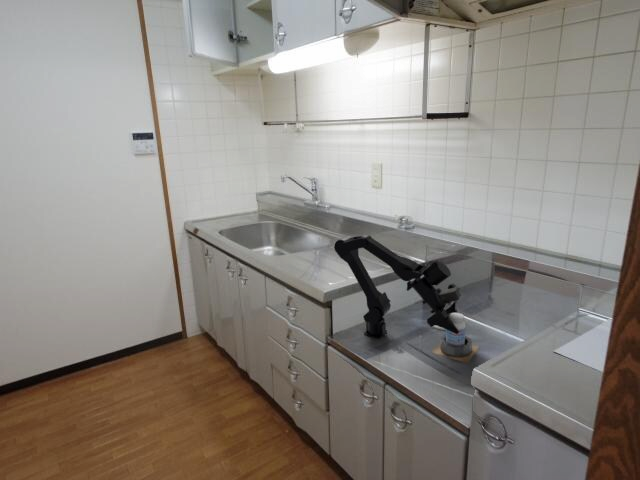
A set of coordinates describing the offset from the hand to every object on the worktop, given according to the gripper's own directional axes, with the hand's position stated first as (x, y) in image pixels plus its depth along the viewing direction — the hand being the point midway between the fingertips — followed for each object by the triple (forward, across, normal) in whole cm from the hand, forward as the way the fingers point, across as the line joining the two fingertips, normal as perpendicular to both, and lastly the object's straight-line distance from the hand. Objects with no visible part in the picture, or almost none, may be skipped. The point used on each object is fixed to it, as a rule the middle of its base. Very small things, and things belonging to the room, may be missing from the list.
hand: (460, 328), depth 133 cm
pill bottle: (+4, 0, +6) cm, 7 cm away
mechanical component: (0, +17, +13) cm, 21 cm away
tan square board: (+5, 0, +7) cm, 9 cm away
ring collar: (+5, 0, +6) cm, 8 cm away
